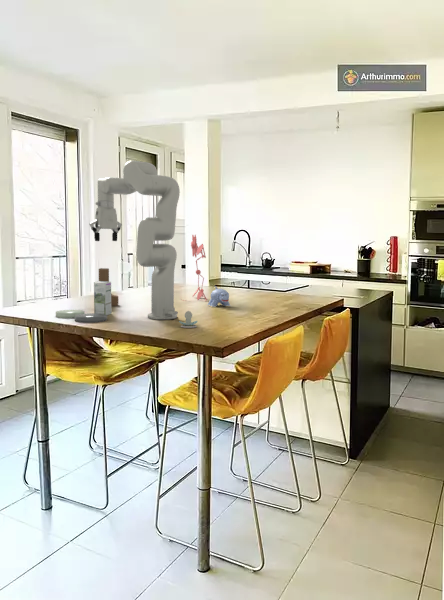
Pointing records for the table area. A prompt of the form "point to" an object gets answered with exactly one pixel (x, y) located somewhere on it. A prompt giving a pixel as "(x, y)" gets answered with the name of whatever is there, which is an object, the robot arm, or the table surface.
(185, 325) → the pacifier
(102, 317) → the disc
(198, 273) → the pink articulated figure
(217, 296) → the hippopotamus toy
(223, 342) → the table surface
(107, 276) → the wooden block
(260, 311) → the table surface
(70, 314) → the disc
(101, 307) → the syrup box
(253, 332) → the table surface
